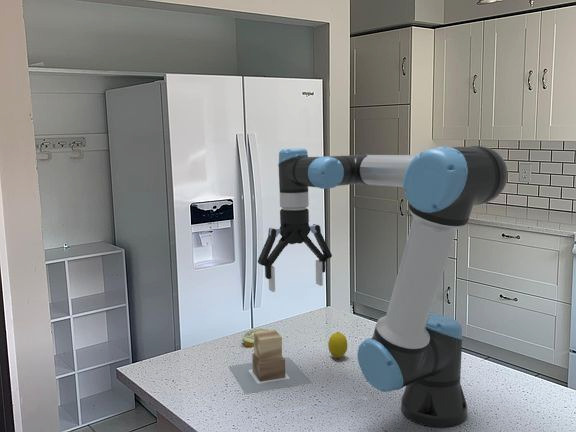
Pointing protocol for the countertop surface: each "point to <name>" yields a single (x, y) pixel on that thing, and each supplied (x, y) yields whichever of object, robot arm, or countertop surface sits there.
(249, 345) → the decorated donut
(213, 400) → the countertop surface
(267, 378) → the walnut base
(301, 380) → the grey square plate
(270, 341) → the oak cube
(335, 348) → the lemon
